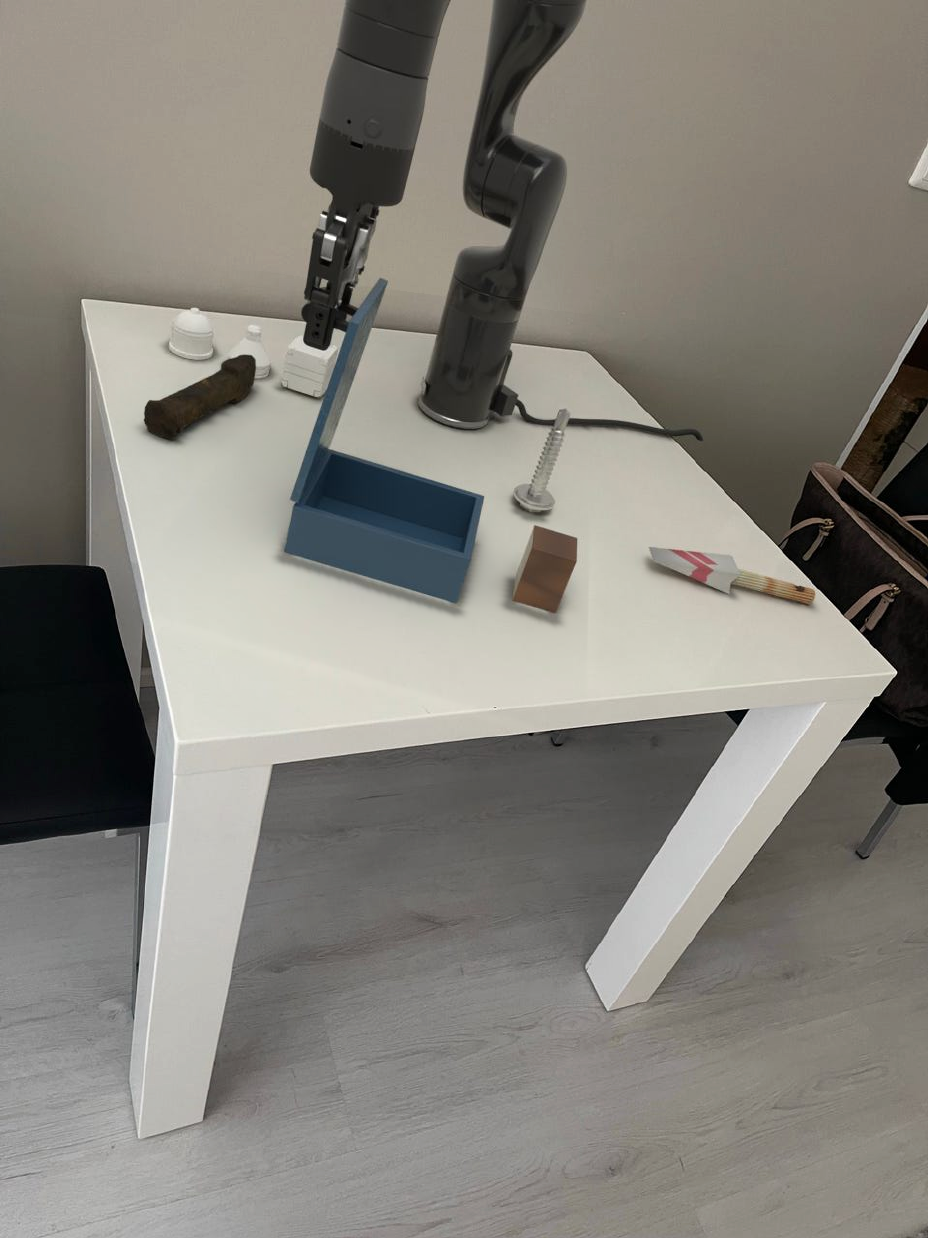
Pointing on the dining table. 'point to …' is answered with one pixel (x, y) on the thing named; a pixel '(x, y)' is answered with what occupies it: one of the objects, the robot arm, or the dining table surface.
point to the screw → (543, 470)
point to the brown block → (545, 569)
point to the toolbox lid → (338, 380)
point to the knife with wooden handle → (727, 573)
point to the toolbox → (386, 525)
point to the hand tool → (201, 397)
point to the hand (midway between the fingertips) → (323, 335)
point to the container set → (256, 353)
